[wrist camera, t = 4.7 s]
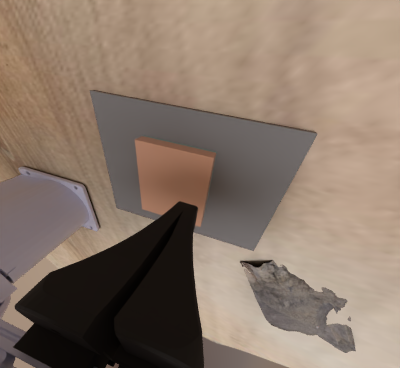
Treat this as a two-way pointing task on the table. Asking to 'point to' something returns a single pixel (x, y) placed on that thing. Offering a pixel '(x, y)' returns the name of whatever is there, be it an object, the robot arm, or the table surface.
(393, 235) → the table surface
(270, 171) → the mat
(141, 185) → the tile
